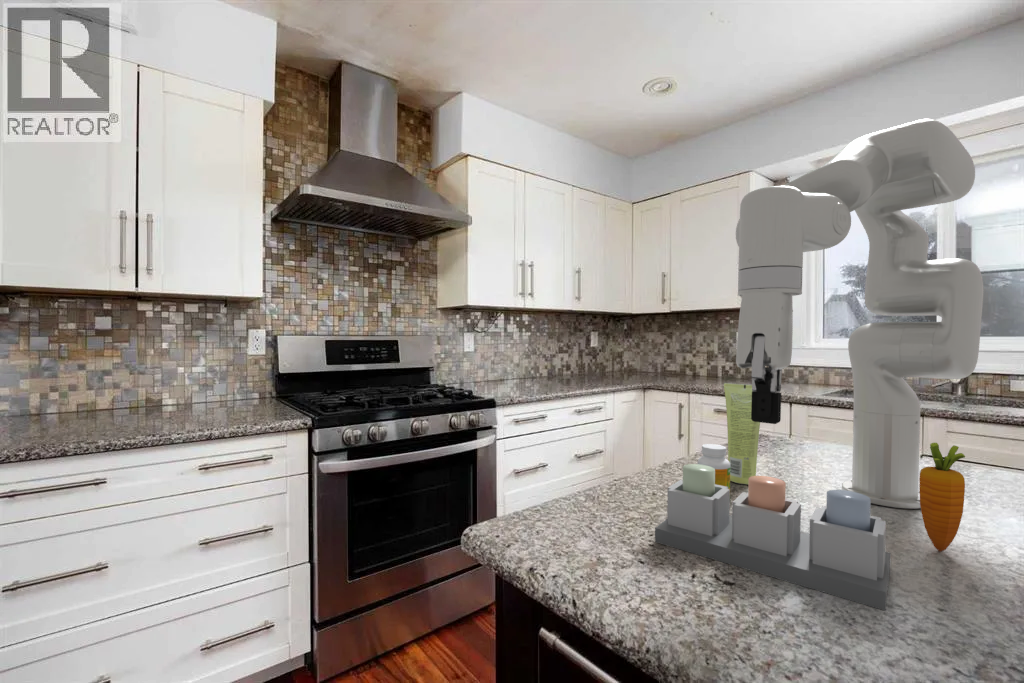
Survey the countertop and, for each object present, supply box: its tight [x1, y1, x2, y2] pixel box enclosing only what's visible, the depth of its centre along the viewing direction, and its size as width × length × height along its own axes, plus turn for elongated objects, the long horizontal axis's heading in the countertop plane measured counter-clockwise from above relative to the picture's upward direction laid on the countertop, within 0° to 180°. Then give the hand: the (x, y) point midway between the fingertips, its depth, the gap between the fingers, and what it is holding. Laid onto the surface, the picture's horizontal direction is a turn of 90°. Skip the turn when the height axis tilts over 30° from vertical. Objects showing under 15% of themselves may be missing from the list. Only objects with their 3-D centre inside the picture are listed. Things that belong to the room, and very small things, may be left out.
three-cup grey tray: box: [654, 479, 892, 611], centre depth 65 cm, size 12×26×7 cm, turn 50°
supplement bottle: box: [696, 443, 731, 490], centre depth 85 cm, size 5×5×10 cm
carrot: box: [919, 442, 966, 553], centre depth 66 cm, size 5×5×15 cm
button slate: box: [826, 489, 872, 532], centre depth 59 cm, size 4×4×5 cm
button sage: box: [682, 463, 715, 497], centre depth 71 cm, size 4×4×5 cm
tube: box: [723, 382, 761, 485], centre depth 96 cm, size 6×5×20 cm
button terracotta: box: [747, 475, 787, 513], centre depth 65 cm, size 4×4×5 cm
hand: (765, 421), depth 64 cm, fingers closed
